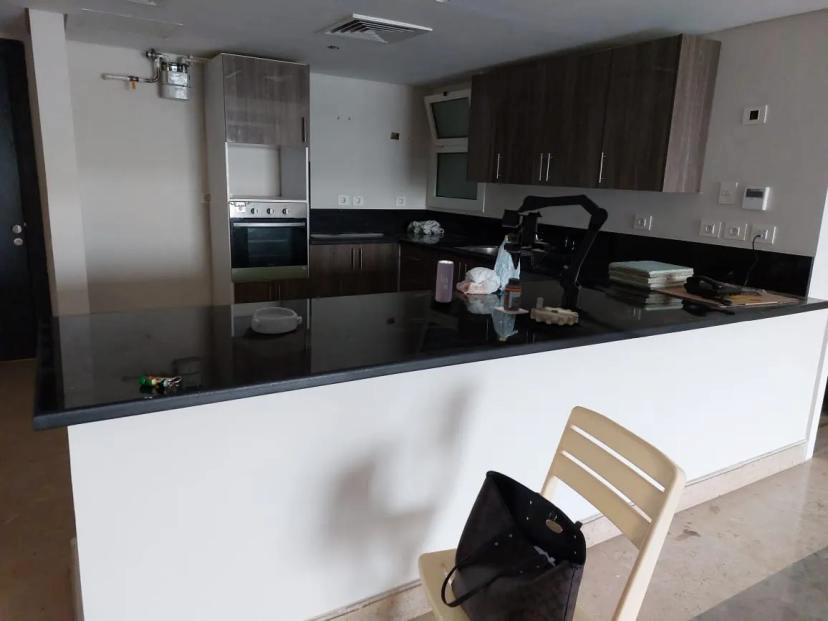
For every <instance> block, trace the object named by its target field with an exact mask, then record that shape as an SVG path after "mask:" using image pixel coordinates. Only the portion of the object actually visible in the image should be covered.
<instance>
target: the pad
mask: <svg viewBox="0 0 828 621" xmlns="http://www.w3.org/2000/svg"><path fill="white" fill-rule="evenodd" d="M493 309H494V310H496V311H499V312H500V313H504V314H506V315H515V314H518V315H520V314H529V310H527V309H523V308H520V309H519V310H517V311H510V310H506V309H504V308H503V306H494V307H493Z"/></svg>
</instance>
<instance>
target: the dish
mask: <svg viewBox="0 0 828 621" xmlns="http://www.w3.org/2000/svg"><path fill="white" fill-rule="evenodd" d="M302 321H303V319H302V316H298V313H296V312H295V311H294V310H292V309H289V308H284V307H277V306H275V307H273V306H272V307H263V308H259V309H255V311H254V314H253V316H252V318H251V323H250V324H251V328H252V330H253V331H254V332H256V333H260V334H282V333H287V332H291V331H294V330H295V329H297V326H298V325H301V323H302Z"/></svg>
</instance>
